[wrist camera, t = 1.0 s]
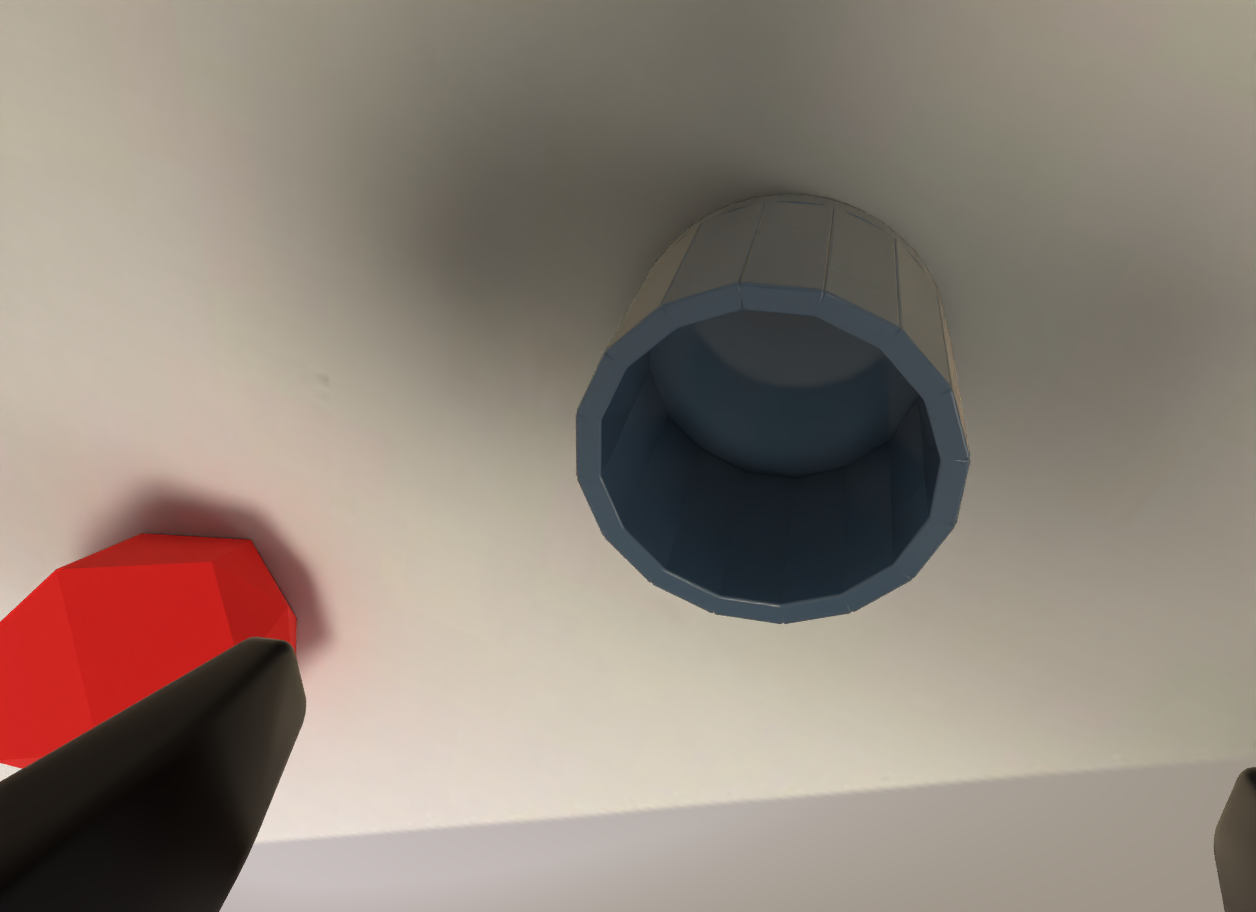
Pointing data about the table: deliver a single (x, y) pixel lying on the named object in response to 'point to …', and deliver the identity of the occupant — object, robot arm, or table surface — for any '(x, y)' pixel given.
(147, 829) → the robot arm
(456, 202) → the table surface
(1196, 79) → the table surface
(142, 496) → the table surface
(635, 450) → the enamel cup
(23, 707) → the apple
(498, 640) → the table surface
